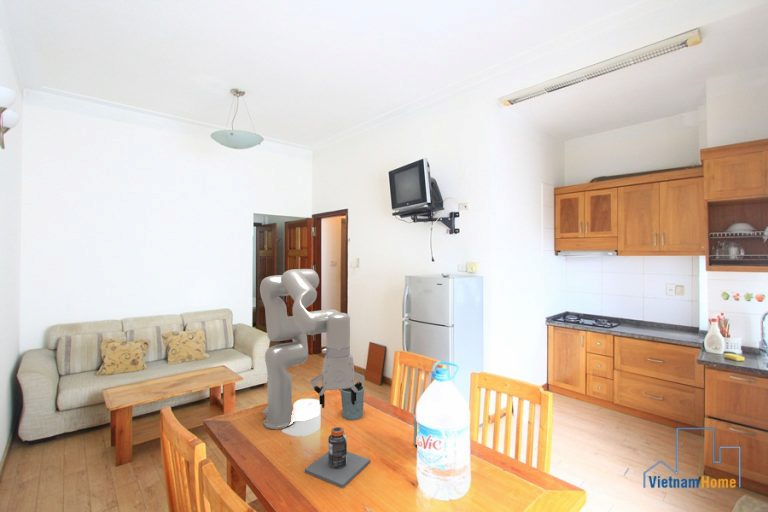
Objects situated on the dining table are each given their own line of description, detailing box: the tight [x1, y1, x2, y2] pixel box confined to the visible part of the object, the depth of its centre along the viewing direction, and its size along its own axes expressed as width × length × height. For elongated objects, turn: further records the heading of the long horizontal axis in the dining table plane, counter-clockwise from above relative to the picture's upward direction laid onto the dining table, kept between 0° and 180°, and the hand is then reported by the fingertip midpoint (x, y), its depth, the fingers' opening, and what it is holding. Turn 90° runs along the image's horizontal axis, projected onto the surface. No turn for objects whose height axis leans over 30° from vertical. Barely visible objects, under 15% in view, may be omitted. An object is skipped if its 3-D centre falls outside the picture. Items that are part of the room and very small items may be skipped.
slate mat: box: [304, 451, 371, 489], centre depth 115 cm, size 15×15×1 cm
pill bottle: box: [327, 426, 348, 469], centre depth 115 cm, size 6×6×11 cm
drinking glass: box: [339, 383, 365, 421], centre depth 152 cm, size 10×10×12 cm
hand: (338, 404), depth 115 cm, fingers open, 9 cm apart
